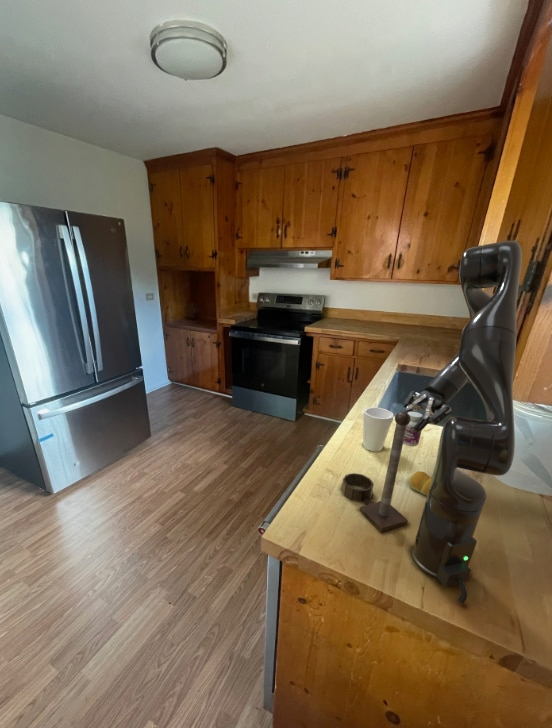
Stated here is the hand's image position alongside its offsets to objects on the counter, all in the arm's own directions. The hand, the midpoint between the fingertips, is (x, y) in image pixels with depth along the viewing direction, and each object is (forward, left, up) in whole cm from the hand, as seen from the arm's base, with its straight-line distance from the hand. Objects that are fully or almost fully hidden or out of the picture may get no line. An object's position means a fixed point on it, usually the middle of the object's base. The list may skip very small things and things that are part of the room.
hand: (408, 425), depth 98 cm
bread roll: (-11, 0, -15) cm, 18 cm away
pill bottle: (0, -2, -6) cm, 7 cm away
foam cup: (+13, +1, -15) cm, 20 cm away
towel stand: (-13, +19, -15) cm, 27 cm away
